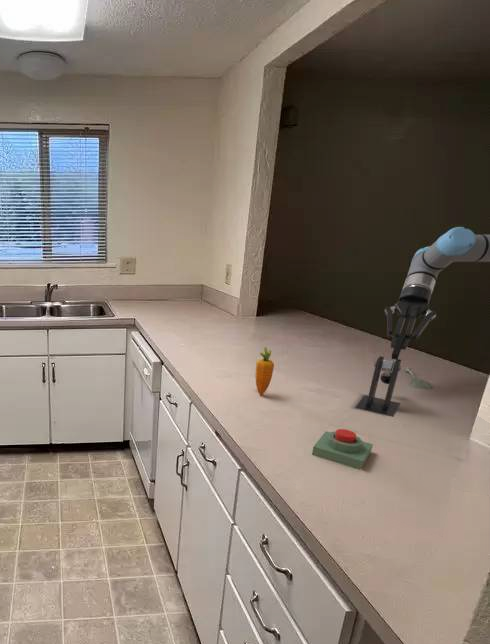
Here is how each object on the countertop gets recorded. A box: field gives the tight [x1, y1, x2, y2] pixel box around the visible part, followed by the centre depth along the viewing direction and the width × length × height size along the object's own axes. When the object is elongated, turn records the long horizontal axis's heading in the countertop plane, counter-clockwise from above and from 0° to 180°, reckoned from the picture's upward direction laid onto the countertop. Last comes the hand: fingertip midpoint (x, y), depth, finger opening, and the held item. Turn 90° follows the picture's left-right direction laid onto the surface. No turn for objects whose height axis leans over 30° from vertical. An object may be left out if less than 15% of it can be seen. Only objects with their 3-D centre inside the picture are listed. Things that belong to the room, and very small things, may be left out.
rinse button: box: [335, 428, 357, 443], centre depth 99 cm, size 4×4×2 cm
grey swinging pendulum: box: [380, 359, 395, 385], centre depth 123 cm, size 13×4×4 cm
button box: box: [311, 430, 374, 470], centre depth 100 cm, size 10×10×4 cm
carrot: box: [255, 346, 275, 396], centre depth 131 cm, size 5×5×15 cm
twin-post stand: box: [354, 355, 402, 418], centre depth 120 cm, size 12×9×15 cm
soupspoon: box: [404, 366, 433, 390], centre depth 143 cm, size 22×3×7 cm
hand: (394, 356), depth 127 cm, fingers closed
